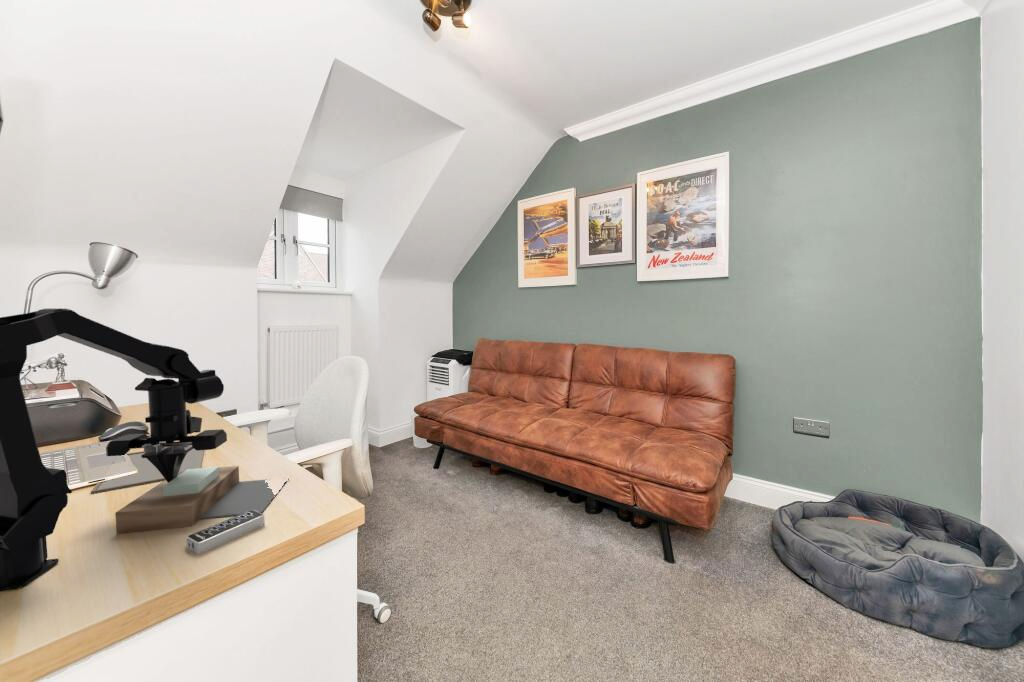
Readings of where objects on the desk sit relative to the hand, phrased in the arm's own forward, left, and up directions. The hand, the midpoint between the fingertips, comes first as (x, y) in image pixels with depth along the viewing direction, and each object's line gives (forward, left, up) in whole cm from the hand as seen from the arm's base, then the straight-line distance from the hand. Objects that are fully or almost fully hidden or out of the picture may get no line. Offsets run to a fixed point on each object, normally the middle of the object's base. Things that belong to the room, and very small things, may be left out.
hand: (171, 482), depth 82 cm
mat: (+1, -14, -5) cm, 15 cm away
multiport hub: (-15, -16, -6) cm, 23 cm away
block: (0, -4, -1) cm, 4 cm away
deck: (0, -2, -5) cm, 6 cm away
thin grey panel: (+27, +18, -6) cm, 33 cm away
